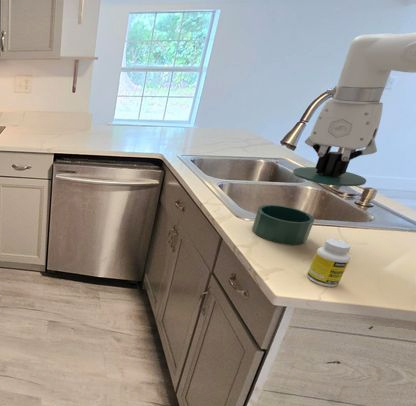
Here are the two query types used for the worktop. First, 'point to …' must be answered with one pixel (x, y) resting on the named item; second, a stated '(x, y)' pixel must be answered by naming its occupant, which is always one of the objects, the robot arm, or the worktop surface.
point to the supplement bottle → (329, 263)
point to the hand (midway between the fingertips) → (328, 173)
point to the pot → (282, 224)
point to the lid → (329, 173)
